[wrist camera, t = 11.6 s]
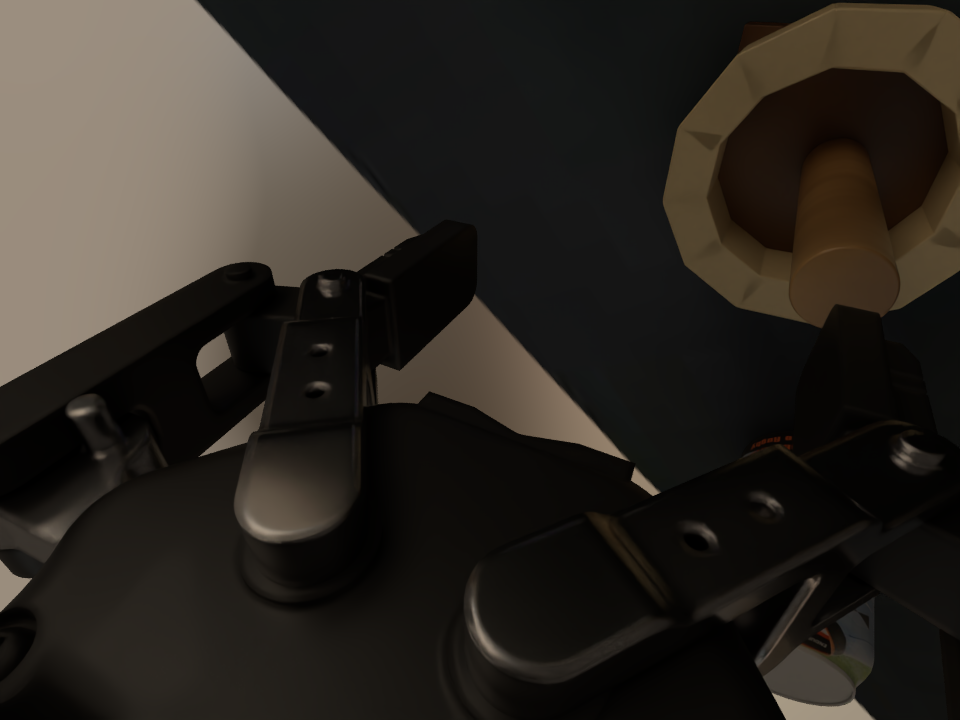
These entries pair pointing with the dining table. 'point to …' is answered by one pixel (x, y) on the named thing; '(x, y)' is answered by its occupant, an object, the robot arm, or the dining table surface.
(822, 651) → the beverage can
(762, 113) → the peg stand
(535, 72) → the dining table surface
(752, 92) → the tape roll
